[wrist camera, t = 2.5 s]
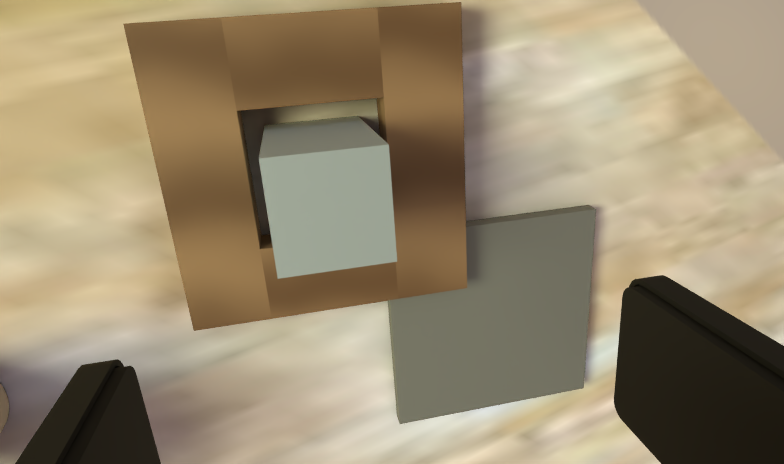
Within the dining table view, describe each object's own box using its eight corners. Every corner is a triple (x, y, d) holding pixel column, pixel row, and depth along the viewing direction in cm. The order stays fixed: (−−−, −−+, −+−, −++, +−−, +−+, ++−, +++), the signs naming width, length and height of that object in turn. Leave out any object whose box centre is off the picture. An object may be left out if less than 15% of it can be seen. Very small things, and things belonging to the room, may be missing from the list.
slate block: (264, 125, 25) (258, 158, 18) (357, 116, 26) (388, 144, 19) (278, 214, 27) (277, 278, 19) (365, 203, 28) (397, 261, 20)
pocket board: (136, 25, 23) (123, 24, 21) (447, 5, 25) (461, 2, 23) (199, 311, 28) (193, 330, 26) (455, 273, 30) (467, 287, 28)
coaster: (382, 232, 28) (385, 237, 27) (588, 205, 30) (596, 209, 29) (397, 415, 32) (399, 423, 32) (576, 380, 34) (583, 388, 34)
